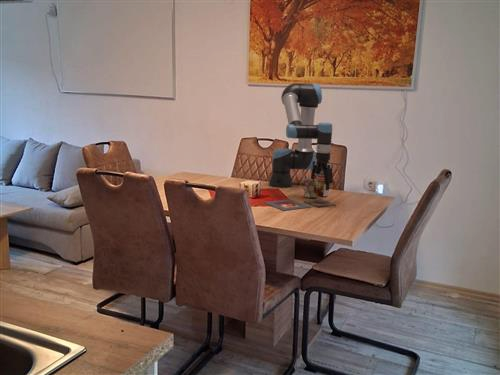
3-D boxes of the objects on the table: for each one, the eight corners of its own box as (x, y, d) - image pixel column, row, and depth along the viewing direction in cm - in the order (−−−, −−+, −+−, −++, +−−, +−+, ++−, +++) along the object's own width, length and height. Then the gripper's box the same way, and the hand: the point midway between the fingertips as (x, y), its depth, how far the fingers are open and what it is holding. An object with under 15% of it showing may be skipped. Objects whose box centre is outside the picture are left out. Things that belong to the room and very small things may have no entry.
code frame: (263, 203, 251) (263, 202, 251) (290, 200, 261) (290, 199, 260) (283, 211, 236) (283, 210, 236) (311, 207, 246) (311, 206, 245)
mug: (321, 196, 272) (322, 178, 270) (315, 199, 264) (317, 181, 262) (302, 194, 278) (303, 176, 275) (296, 196, 270) (297, 178, 267)
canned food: (316, 198, 248) (318, 175, 245) (310, 194, 255) (312, 173, 253) (330, 197, 250) (331, 175, 248) (324, 194, 257) (325, 172, 255)
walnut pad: (304, 202, 255) (304, 201, 255) (321, 200, 262) (321, 199, 261) (318, 207, 245) (318, 206, 245) (335, 205, 252) (335, 203, 252)
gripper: (305, 150, 255) (303, 191, 259) (331, 154, 237) (327, 198, 242) (316, 149, 258) (313, 190, 263) (342, 154, 241) (338, 197, 246)
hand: (320, 194), depth 252 cm, fingers closed on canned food, 8 cm apart
